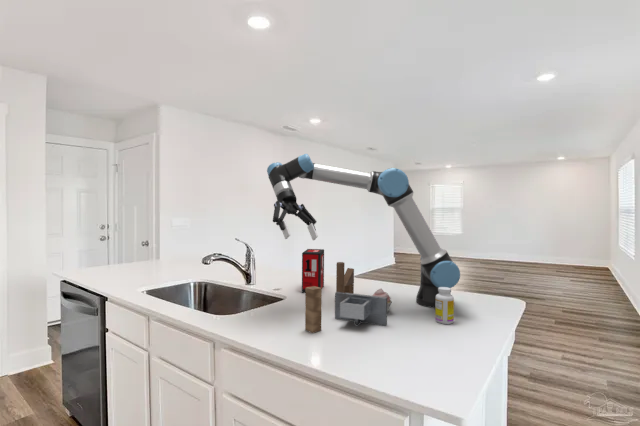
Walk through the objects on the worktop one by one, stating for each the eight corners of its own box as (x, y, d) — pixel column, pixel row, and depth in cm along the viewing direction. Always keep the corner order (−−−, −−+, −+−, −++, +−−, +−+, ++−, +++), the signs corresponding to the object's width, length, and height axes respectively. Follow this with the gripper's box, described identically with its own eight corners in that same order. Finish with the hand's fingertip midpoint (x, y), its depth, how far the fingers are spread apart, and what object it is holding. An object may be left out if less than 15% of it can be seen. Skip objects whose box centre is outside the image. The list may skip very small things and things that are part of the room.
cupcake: (396, 312, 150) (396, 288, 150) (384, 317, 143) (384, 292, 143) (377, 307, 156) (377, 284, 156) (364, 312, 149) (364, 288, 149)
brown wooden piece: (353, 298, 171) (354, 260, 171) (341, 303, 162) (341, 263, 162) (347, 297, 173) (347, 259, 173) (334, 302, 165) (334, 262, 164)
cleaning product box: (319, 293, 180) (319, 253, 179) (301, 293, 181) (302, 253, 181) (323, 286, 196) (324, 249, 196) (307, 285, 198) (307, 248, 197)
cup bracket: (387, 324, 135) (387, 297, 135) (379, 333, 125) (379, 304, 125) (336, 317, 143) (337, 291, 143) (325, 325, 133) (326, 298, 133)
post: (313, 327, 131) (314, 286, 130) (321, 330, 128) (321, 288, 127) (305, 330, 128) (305, 287, 128) (312, 333, 125) (312, 289, 125)
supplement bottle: (453, 320, 140) (454, 287, 140) (453, 325, 134) (454, 290, 134) (435, 318, 143) (435, 285, 142) (434, 323, 136) (435, 289, 136)
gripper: (303, 203, 160) (320, 244, 149) (254, 197, 143) (270, 242, 133) (313, 192, 156) (331, 233, 145) (264, 184, 139) (280, 230, 128)
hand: (302, 237), depth 139 cm, fingers open, 13 cm apart
